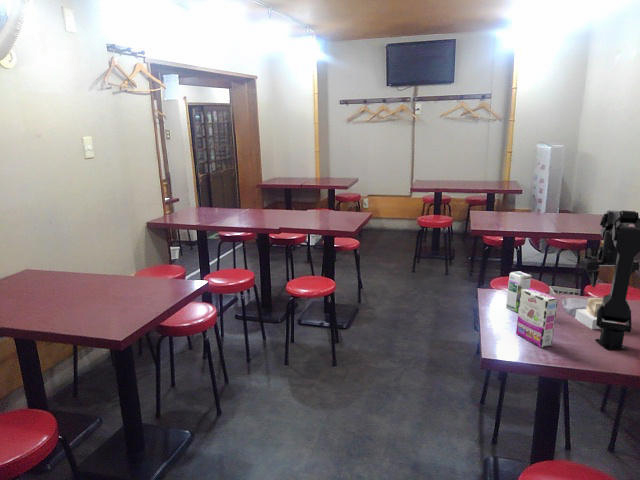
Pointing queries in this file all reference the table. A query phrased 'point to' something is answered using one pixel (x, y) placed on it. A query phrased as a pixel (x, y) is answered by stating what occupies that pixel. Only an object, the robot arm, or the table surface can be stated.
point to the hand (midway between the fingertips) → (605, 286)
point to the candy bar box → (536, 317)
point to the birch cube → (593, 305)
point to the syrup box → (516, 289)
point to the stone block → (574, 305)
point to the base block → (588, 319)
